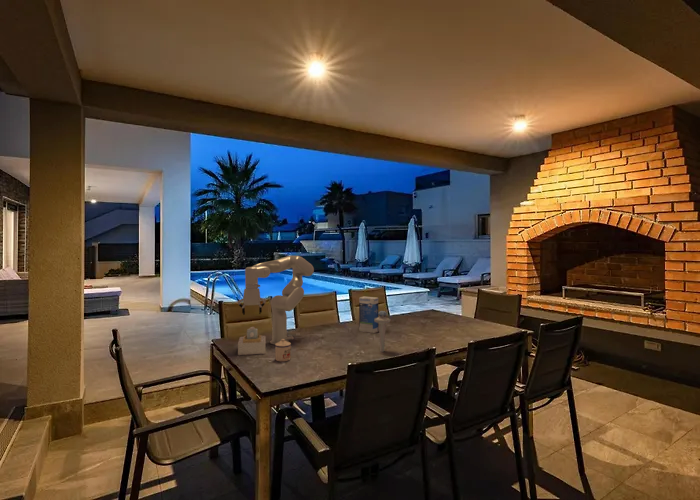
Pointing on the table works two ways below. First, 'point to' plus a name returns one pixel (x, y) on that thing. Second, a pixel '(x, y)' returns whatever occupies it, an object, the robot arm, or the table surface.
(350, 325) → the table surface
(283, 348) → the teacup with lid
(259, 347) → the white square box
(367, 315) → the string lights box
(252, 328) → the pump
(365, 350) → the table surface
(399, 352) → the table surface
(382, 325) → the novelty light stick
